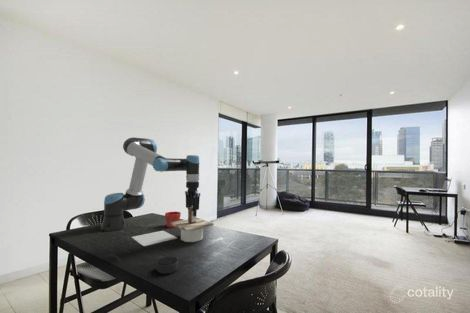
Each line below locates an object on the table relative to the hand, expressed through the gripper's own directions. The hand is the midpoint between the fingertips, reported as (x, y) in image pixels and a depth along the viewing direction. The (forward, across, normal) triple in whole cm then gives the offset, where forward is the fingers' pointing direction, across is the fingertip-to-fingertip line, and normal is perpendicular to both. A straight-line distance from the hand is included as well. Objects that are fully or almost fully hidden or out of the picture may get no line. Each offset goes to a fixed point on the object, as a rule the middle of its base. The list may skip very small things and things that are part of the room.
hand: (192, 220), depth 134 cm
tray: (+11, -16, -16) cm, 25 cm away
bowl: (+11, 0, 0) cm, 11 cm away
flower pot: (+11, -32, +4) cm, 34 cm away
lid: (+2, 0, 0) cm, 2 cm away
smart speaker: (+11, +26, -28) cm, 40 cm away
